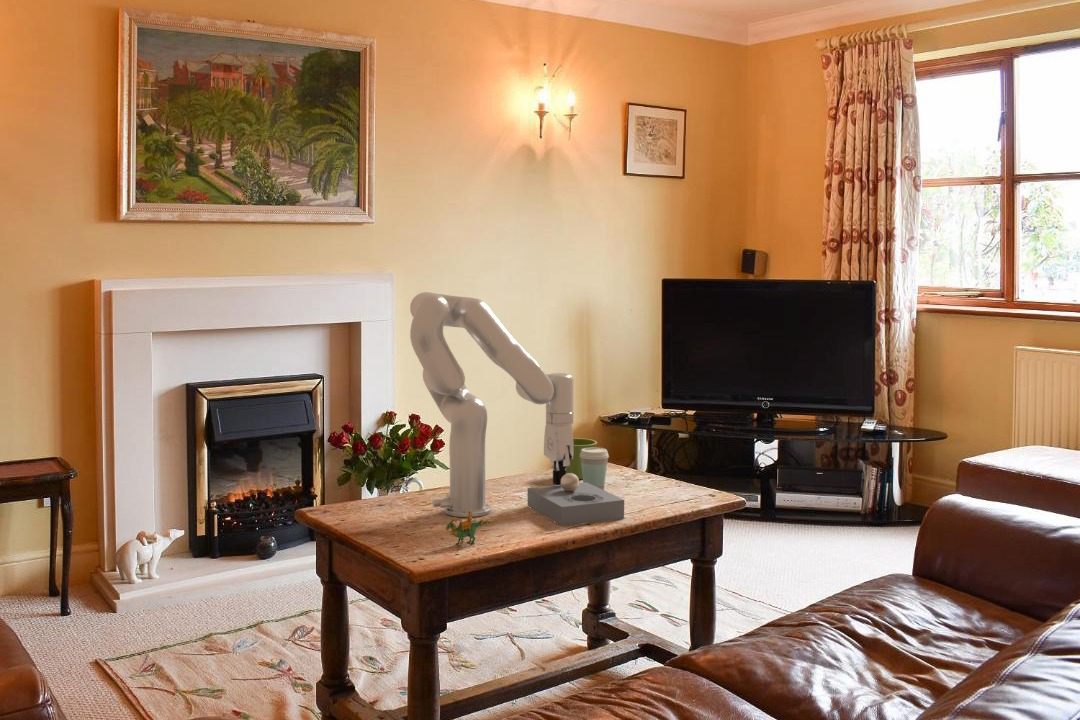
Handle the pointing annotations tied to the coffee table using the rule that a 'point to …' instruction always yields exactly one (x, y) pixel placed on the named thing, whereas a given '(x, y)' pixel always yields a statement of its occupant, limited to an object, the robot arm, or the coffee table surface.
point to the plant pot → (578, 455)
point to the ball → (569, 482)
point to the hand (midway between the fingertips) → (559, 483)
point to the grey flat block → (576, 504)
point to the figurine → (465, 528)
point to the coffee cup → (594, 466)
